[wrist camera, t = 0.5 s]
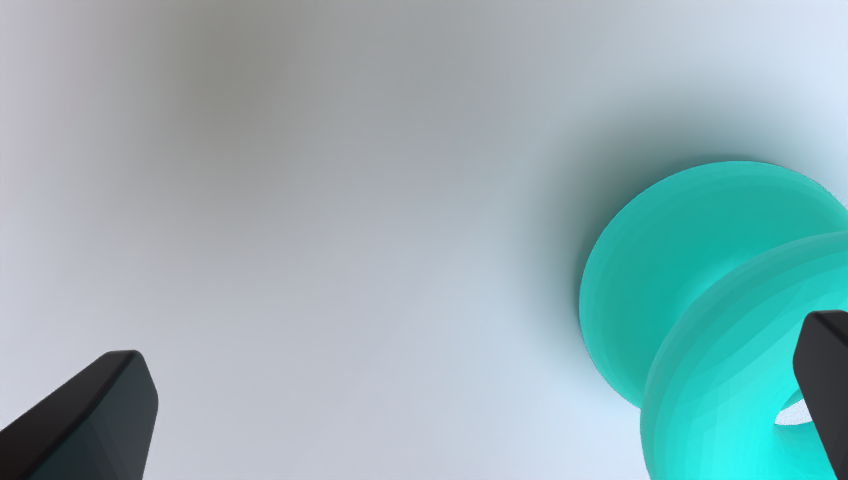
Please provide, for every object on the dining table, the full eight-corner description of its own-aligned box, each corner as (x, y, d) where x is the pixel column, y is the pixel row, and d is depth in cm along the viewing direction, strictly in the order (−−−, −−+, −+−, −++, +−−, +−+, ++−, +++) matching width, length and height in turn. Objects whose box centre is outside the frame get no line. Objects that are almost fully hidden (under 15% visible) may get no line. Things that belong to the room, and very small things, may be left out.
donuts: (936, 161, 14) (1172, 436, 16) (722, 92, 23) (891, 272, 25) (576, 468, 16) (827, 666, 18) (516, 292, 25) (687, 439, 28)
